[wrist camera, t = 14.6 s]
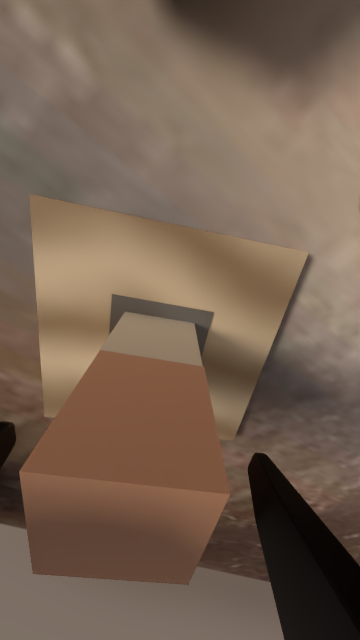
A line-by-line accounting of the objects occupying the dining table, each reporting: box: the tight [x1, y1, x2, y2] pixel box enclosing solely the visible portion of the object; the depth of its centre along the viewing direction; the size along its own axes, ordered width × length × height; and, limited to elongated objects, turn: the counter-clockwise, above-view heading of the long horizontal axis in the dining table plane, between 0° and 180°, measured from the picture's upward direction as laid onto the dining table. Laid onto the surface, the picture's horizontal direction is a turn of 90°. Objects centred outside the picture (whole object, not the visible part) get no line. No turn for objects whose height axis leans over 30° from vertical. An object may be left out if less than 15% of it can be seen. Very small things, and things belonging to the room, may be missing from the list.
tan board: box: [30, 194, 309, 440], centre depth 15 cm, size 16×16×1 cm
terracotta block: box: [19, 350, 230, 585], centre depth 8 cm, size 5×5×5 cm
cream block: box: [99, 312, 202, 366], centre depth 12 cm, size 5×5×5 cm
